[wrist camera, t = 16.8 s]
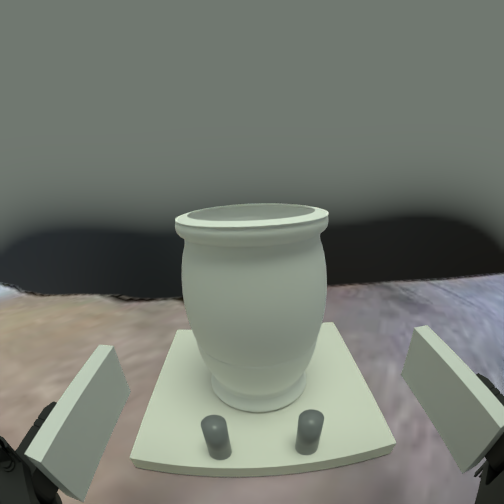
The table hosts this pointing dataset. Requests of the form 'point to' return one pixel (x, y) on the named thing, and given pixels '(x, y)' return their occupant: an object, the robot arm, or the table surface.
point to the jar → (255, 297)
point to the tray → (260, 419)
